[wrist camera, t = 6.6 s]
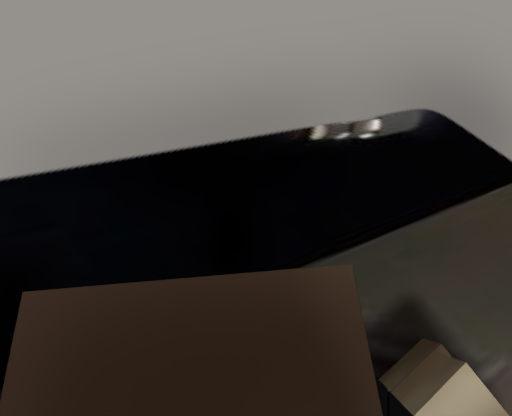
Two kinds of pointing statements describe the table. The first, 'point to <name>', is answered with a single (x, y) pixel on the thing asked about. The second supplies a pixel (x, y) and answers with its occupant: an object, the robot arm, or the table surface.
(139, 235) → the table surface
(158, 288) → the walnut block
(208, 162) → the table surface
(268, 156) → the table surface
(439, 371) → the plinth
